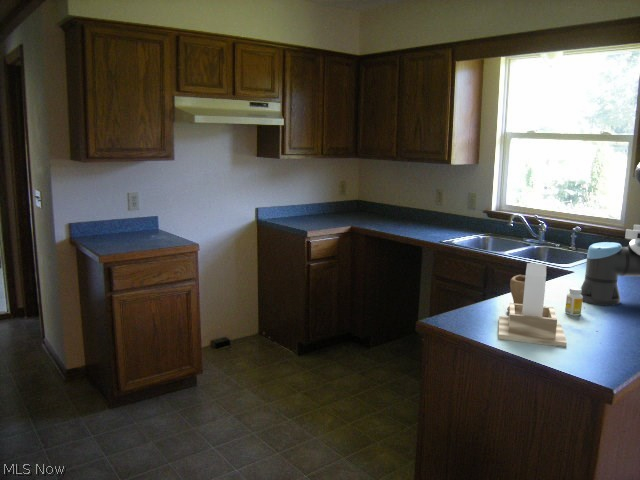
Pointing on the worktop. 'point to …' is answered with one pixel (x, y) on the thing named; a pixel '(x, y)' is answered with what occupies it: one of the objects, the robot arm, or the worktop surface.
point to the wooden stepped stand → (531, 327)
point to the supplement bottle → (574, 301)
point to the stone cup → (517, 289)
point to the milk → (534, 289)
